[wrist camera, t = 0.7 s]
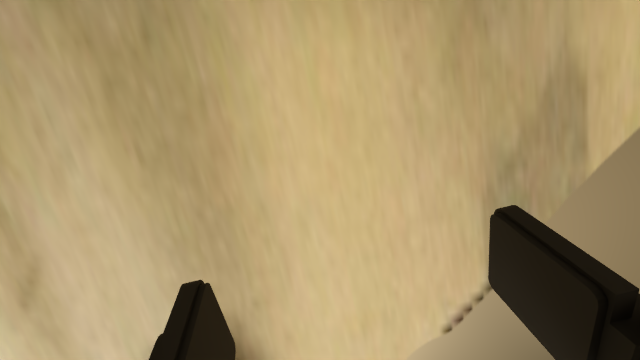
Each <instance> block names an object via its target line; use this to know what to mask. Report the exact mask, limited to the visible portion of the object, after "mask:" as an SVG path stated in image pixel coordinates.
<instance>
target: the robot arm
mask: <svg viewBox="0 0 640 360" xmlns="http://www.w3.org/2000/svg"><path fill="white" fill-rule="evenodd" d="M488 278H489V282H490V285H491V287H492V288H493V289H494V291H495V292H496V293H497V294H498V295H499V296H500V297H501V299H502V300H503V301H504V302H505V303H506V304H507V305H508V306H509V307H510V309H511V310H512V311H513V312H514V313H515V314H516V316H517V317H518V318H519V319H520V320H521V321H522V322H523V323H524V324H525V326H526V327H527V328H528V329H529V330H530V331H531V333H532V334H533V335H534V336H535V337H536V338H537V339H538V340H539V342H541V344H542V345H543V346H544V347H545V348H546V349H547V351H548V352H549V353H550V354H551V355H552V356H553V357H554V359H555V360H640V294H639V288H637V287H635V286H634V285H633V284H631V283H630V282H628V281H627V280H625V279H624V278H622V277H621V276H619V275H618V274H617V273H615V272H614V271H612V270H610V269H609V268H608V267H606V266H605V265H603V264H602V263H600V262H599V261H597V260H596V259H595V258H593V257H591V256H590V255H589V254H587V253H586V252H584V251H583V250H581V249H580V248H578V247H577V246H575V245H574V244H572V243H571V242H569V241H568V240H567V239H565V238H564V237H562V236H561V235H559V234H558V233H556V232H555V231H553V230H552V229H550V228H549V227H547V226H546V225H544V224H543V223H542V222H540V221H539V220H537V219H536V218H534V217H533V216H531V215H530V214H528V213H527V212H525V211H524V210H522V209H521V208H519V207H518V206H516V205H511V206H507V207H503V208H499V209H496V210H495V212H494V214H493V215H491V218H490V243H489V275H488ZM235 352H236V350H235V343H234V340H233V337H232V335H231V333H230V330H229V328H228V326H227V323H226V321H225V319H224V316H223V314H222V311H221V309H220V307H219V304H218V302H217V300H216V297H215V295H214V293H213V290H212V288H211V286H210V284H209V283H205V284H204V282H203V281H202V280H198V281H193V282H189V283H185V284H183V285H182V286H181V287H180V290H179V293H178V295H177V298H176V301H175V303H174V306H173V309H172V311H171V314H170V317H169V319H168V322H167V325H166V327H165V330H164V333H163V334H161V335H160V336H159V337H158V339H157V340H156V343H155V345H154V348H153V350H152V353H151V355H150V358H149V360H235Z"/></svg>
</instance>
